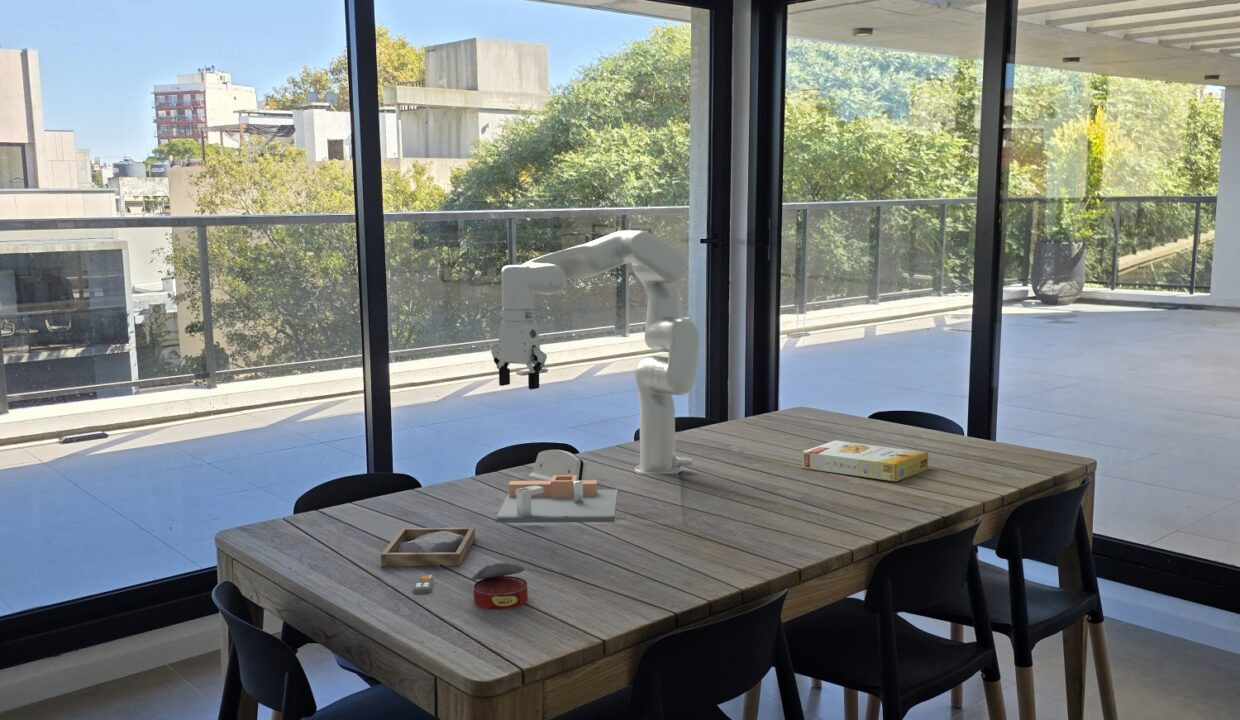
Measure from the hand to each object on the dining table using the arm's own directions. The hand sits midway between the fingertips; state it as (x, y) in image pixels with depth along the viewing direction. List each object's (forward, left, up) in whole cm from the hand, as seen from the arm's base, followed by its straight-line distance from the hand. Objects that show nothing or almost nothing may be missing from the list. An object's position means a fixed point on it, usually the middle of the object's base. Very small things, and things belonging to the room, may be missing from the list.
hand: (519, 386), depth 260 cm
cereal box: (-89, -31, -29) cm, 99 cm away
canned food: (-4, +67, -29) cm, 73 cm away
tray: (+15, +39, -29) cm, 50 cm away
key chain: (+12, +57, -29) cm, 65 cm away
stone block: (+15, +39, -29) cm, 51 cm away
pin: (-14, +6, -29) cm, 33 cm away
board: (-10, +6, -29) cm, 31 cm away
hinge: (-7, -17, -29) cm, 34 cm away
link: (-7, -1, -27) cm, 28 cm away
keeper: (-4, +15, -29) cm, 32 cm away
